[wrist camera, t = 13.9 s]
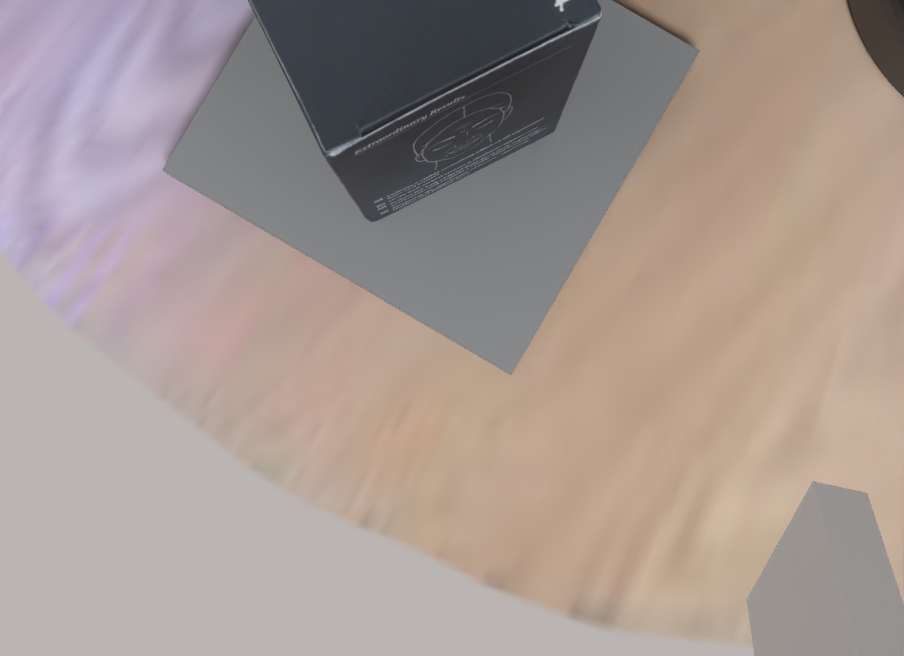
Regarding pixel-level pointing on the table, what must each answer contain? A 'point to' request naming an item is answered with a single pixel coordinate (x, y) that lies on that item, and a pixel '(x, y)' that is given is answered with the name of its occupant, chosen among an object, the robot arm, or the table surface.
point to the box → (425, 84)
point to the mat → (451, 208)
